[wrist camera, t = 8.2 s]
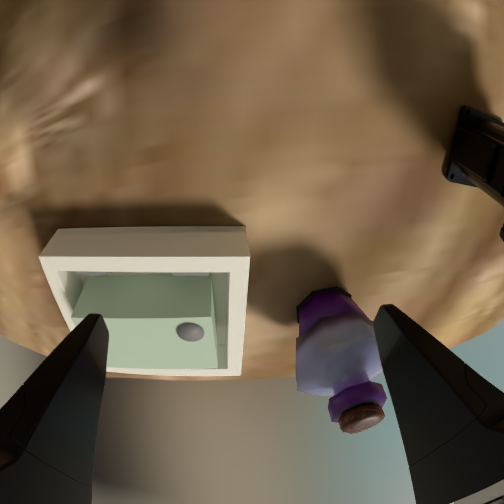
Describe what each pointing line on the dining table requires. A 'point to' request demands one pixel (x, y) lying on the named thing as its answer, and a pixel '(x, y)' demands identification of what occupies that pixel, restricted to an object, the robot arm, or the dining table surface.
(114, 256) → the cabinet carcass
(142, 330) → the green box with knobs
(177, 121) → the dining table surface
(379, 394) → the potion bottle
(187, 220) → the dining table surface
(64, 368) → the robot arm
